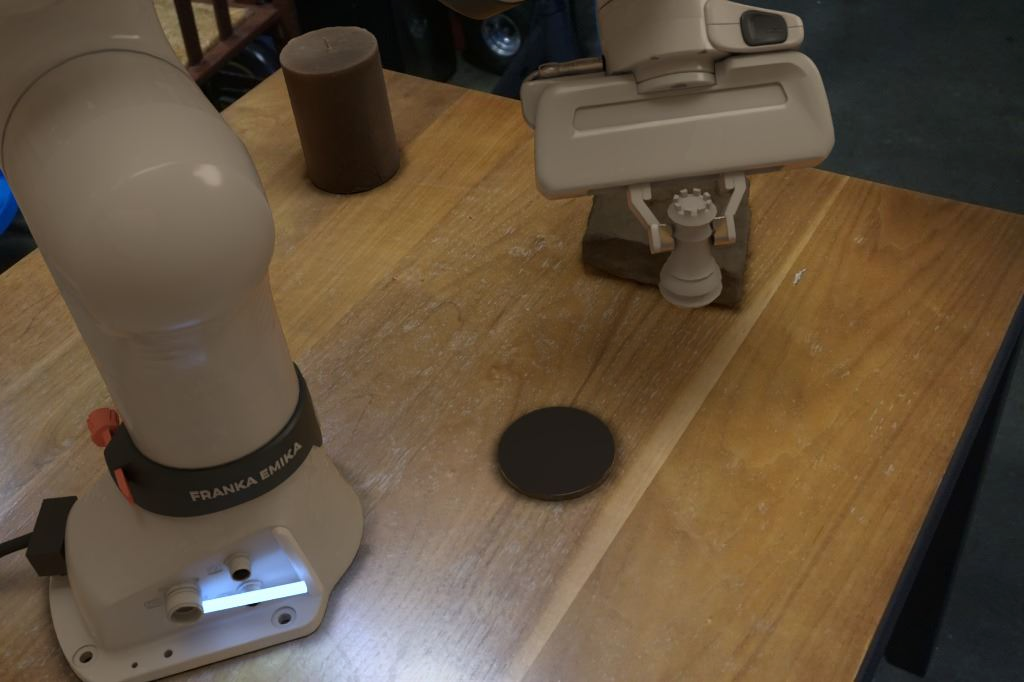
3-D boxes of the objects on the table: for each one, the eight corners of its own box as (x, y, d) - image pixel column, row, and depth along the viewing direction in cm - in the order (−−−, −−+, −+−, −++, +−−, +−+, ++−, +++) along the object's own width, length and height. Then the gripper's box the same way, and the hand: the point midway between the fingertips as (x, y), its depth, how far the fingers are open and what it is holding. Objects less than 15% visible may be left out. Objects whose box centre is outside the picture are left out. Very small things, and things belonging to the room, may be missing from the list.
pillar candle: (370, 201, 111) (341, 68, 100) (290, 184, 114) (255, 53, 104) (417, 150, 117) (394, 19, 107) (340, 135, 120) (310, 7, 110)
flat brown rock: (741, 310, 94) (743, 272, 91) (572, 296, 97) (569, 259, 95) (755, 195, 106) (758, 159, 103) (604, 187, 109) (602, 151, 106)
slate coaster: (531, 519, 80) (531, 513, 79) (478, 439, 86) (477, 434, 85) (638, 469, 82) (638, 464, 82) (578, 395, 88) (578, 390, 88)
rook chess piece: (732, 281, 78) (737, 189, 73) (705, 319, 76) (708, 227, 70) (676, 264, 80) (677, 173, 75) (647, 300, 78) (646, 208, 72)
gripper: (516, 53, 72) (543, 262, 71) (825, 14, 72) (854, 222, 72) (516, 79, 78) (540, 271, 78) (801, 43, 78) (827, 235, 78)
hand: (693, 248), depth 75 cm, fingers closed on rook chess piece, 3 cm apart
